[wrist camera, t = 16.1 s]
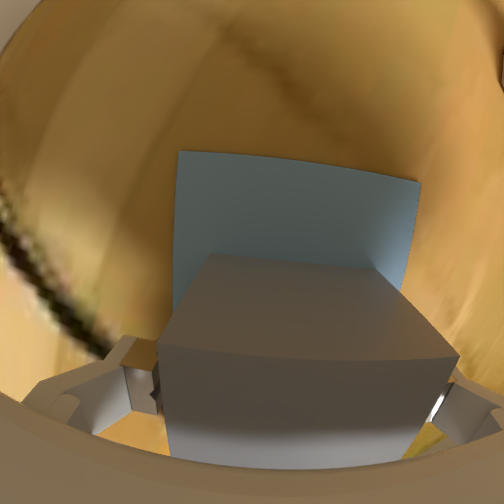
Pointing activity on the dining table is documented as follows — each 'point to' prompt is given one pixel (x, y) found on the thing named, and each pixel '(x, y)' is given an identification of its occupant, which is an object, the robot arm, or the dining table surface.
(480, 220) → the dining table surface
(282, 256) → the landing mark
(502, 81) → the flask
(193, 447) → the plain grey carton
